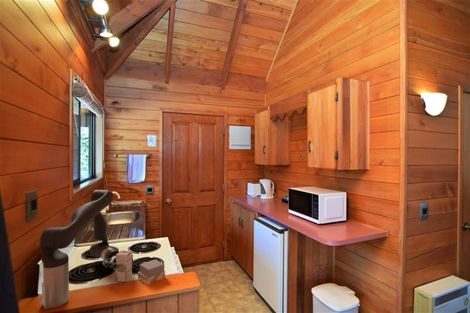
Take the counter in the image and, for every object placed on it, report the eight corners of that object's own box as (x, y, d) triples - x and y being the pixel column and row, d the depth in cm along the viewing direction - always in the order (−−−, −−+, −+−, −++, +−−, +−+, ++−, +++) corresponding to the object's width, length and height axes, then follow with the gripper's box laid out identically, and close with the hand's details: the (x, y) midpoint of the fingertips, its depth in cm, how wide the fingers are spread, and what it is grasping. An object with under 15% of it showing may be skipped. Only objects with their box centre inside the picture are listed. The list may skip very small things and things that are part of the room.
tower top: (148, 277, 124) (148, 269, 124) (139, 272, 130) (139, 264, 130) (164, 271, 131) (164, 264, 131) (155, 266, 137) (155, 259, 137)
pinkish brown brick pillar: (132, 277, 132) (132, 250, 132) (126, 282, 126) (126, 254, 126) (122, 276, 133) (122, 249, 133) (115, 282, 127) (115, 254, 127)
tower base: (147, 286, 124) (147, 278, 124) (137, 279, 130) (137, 272, 130) (165, 278, 131) (165, 271, 131) (154, 272, 138) (154, 265, 138)
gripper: (97, 252, 135) (110, 260, 124) (123, 245, 146) (137, 252, 135) (97, 266, 135) (110, 275, 124) (123, 258, 146) (137, 265, 135)
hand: (124, 263), depth 130 cm, fingers open, 8 cm apart
